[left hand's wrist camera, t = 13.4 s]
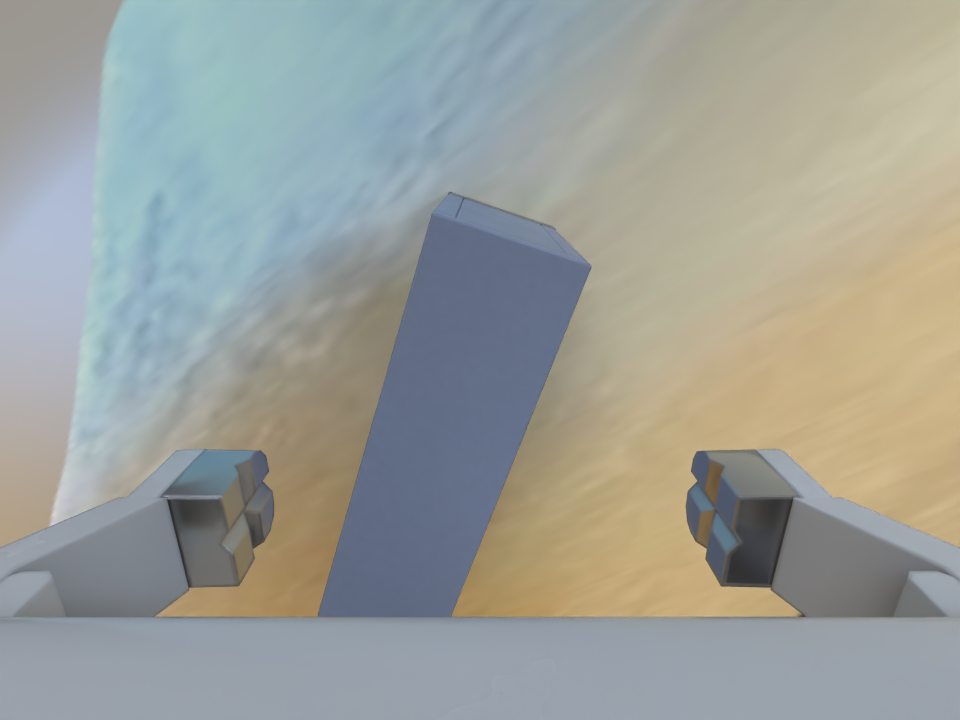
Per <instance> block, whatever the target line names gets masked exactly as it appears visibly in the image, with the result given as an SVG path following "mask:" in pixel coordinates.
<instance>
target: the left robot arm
mask: <svg viewBox="0 0 960 720" xmlns="http://www.w3.org/2000/svg"><path fill="white" fill-rule="evenodd" d="M268 472H269V469H268V464H267V459H266V455H265V454H264V453H263V452H262V451H261V450H214V449H210V450H207V449H183V450H177V451H175V452H174V453H173V454H172V455H171V456H170V457H169V458H168V459H167V460H166V461H165V462H164V463H163V464H162V465H161V466H160V467H159V468H158V469H157V470H155V471H154V472H153V473H152V474H151V475H150V476H149V477H148V478H147V479H146V480H145V481H144V482H143V483H142V484H141V485H140V486H139V487H138V488H136V489H135V490H134V491H133V492H132V493H131V494H130V495H129V496H128V497H127V498H116V499H114V500H111V501H109V502H107V503H104V504H102V505H100V506H97V507H95V508H92V509H90V510H88V511H85V512H83V513H81V514H78V515H76V516H74V517H71V518H69V519H67V520H64V521H62V522H59V523H57V524H55V525H52V526H50V527H48V528H45V529H43V530H41V531H38V532H36V533H34V534H31V535H29V536H27V537H24V538H22V539H19V540H17V541H15V542H13V543H10V544H8V545H5V546H3V547H1V548H0V720H960V548H959V547H957V546H954V545H952V544H950V543H947V542H945V541H943V540H940V539H938V538H936V537H933V536H931V535H929V534H926V533H924V532H922V531H919V530H917V529H914V528H912V527H910V526H907V525H905V524H903V523H900V522H898V521H896V520H893V519H891V518H889V517H886V516H884V515H882V514H879V513H877V512H875V511H872V510H870V509H867V508H865V507H863V506H860V505H858V504H856V503H853V502H851V501H849V500H846V499H844V498H833V497H832V496H831V495H830V494H829V493H828V492H827V491H826V490H825V489H824V488H823V487H821V486H820V485H819V484H818V483H817V482H816V481H815V480H814V479H813V478H812V477H811V476H810V475H809V474H808V473H807V472H806V471H805V470H804V469H803V468H802V467H800V466H799V465H798V464H797V463H796V462H795V461H794V460H793V459H792V458H791V457H790V456H789V455H788V454H787V453H786V452H785V451H782V450H779V449H760V450H716V451H697V452H696V454H695V456H694V458H693V463H692V468H691V472H692V473H693V475H694V476H695V478H696V479H697V482H696V483H695V484H694V485H693V486H692V487H691V488H690V489H689V491H688V493H687V501H686V515H687V522H688V526H689V529H690V532H691V534H692V536H693V538H694V539H695V541H696V542H697V543H699V544H700V545H702V546H703V547H705V548H707V552H706V558H705V559H706V561H707V563H708V564H709V566H710V568H711V570H712V571H713V573H714V575H715V577H716V578H717V580H718V582H719V583H720V585H721V586H731V587H768V588H771V590H772V591H773V592H774V593H776V594H777V595H778V596H779V597H781V598H782V599H783V600H785V601H786V602H787V603H789V604H790V605H791V606H792V607H794V608H795V609H796V610H798V611H799V612H800V613H802V614H803V615H804V616H806V617H155V616H156V615H157V614H159V613H160V612H161V611H162V610H164V609H165V608H166V607H168V606H169V605H170V604H172V603H173V602H174V601H176V600H177V599H178V598H179V597H181V596H182V595H183V594H185V593H186V592H187V591H189V588H192V587H228V586H239V585H240V584H241V582H242V580H243V578H244V577H245V575H246V573H247V571H248V570H249V568H250V566H251V564H252V563H253V561H254V559H255V558H254V552H253V548H255V547H257V546H258V545H260V544H261V543H263V542H264V541H265V539H266V537H267V536H268V534H269V532H270V529H271V525H272V521H273V517H274V499H273V493H272V491H271V489H270V488H269V487H268V486H267V485H266V484H265V483H264V482H263V479H264V478H265V476H266V475H267V473H268Z"/></svg>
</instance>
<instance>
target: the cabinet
mask: <svg viewBox="0 0 960 720" xmlns="http://www.w3.org/2000/svg"><path fill="white" fill-rule="evenodd" d="M590 269H591V265H590V264H589V263H588V262H587V261H586V260H585V259H584V258H583V257H582V256H581V255H580V254H579V253H578V252H577V251H576V250H575V249H574V248H573V247H572V246H571V245H570V244H569V243H568V242H567V241H566V240H565V239H564V238H563V237H562V236H561V235H560V234H559V233H558V232H557V231H556V229H555V228H554V227H552V226H549V225H546V224H543V223H540V222H537V221H534V220H532V219H529V218H526V217H523V216H520V215H517V214H514V213H511V212H508V211H505V210H502V209H499V208H496V207H493V206H490V205H487V204H484V203H481V202H478V201H475V200H473V199H470V198H467V197H464V196H461V195H458V194H455V193H452V192H449V194H448V196H447V197H446V198H445V199H444V200H443V201H442V203H441V204H440V205H439V206H438V207H437V208H436V209H435V211H434V212H433V213H432V215H431V218H430V222H429V225H428V229H427V233H426V236H425V240H424V243H423V247H422V250H421V254H420V257H419V261H418V264H417V268H416V271H415V275H414V278H413V282H412V285H411V289H410V292H409V296H408V299H407V303H406V306H405V310H404V313H403V317H402V320H401V324H400V328H399V331H398V335H397V338H396V342H395V345H394V349H393V352H392V356H391V359H390V363H389V366H388V370H387V373H386V377H385V380H384V384H383V387H382V391H381V394H380V398H379V401H378V405H377V408H376V412H375V415H374V419H373V423H372V426H371V430H370V433H369V437H368V440H367V444H366V447H365V451H364V454H363V458H362V461H361V465H360V468H359V472H358V475H357V479H356V482H355V486H354V489H353V493H352V496H351V500H350V503H349V507H348V510H347V514H346V518H345V521H344V525H343V528H342V532H341V535H340V539H339V542H338V546H337V549H336V553H335V556H334V560H333V563H332V567H331V570H330V574H329V577H328V581H327V584H326V588H325V591H324V595H323V598H322V602H321V605H320V609H319V613H318V617H451V615H452V613H453V610H454V608H455V605H456V603H457V600H458V598H459V595H460V593H461V590H462V588H463V586H464V583H465V581H466V578H467V576H468V573H469V571H470V568H471V566H472V563H473V561H474V558H475V556H476V553H477V551H478V548H479V546H480V543H481V541H482V538H483V536H484V533H485V531H486V528H487V526H488V523H489V521H490V518H491V516H492V513H493V511H494V508H495V506H496V503H497V501H498V498H499V496H500V493H501V491H502V488H503V486H504V483H505V481H506V479H507V476H508V474H509V471H510V469H511V466H512V464H513V461H514V459H515V456H516V454H517V451H518V449H519V446H520V444H521V441H522V439H523V436H524V434H525V431H526V429H527V426H528V424H529V421H530V419H531V416H532V414H533V411H534V409H535V406H536V404H537V401H538V399H539V396H540V394H541V391H542V389H543V386H544V384H545V381H546V379H547V376H548V374H549V371H550V369H551V367H552V364H553V362H554V359H555V357H556V354H557V352H558V349H559V347H560V344H561V342H562V339H563V337H564V334H565V332H566V329H567V327H568V324H569V322H570V319H571V317H572V314H573V312H574V309H575V307H576V304H577V302H578V299H579V297H580V294H581V292H582V289H583V287H584V284H585V282H586V279H587V277H588V274H589V272H590Z"/></svg>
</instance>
